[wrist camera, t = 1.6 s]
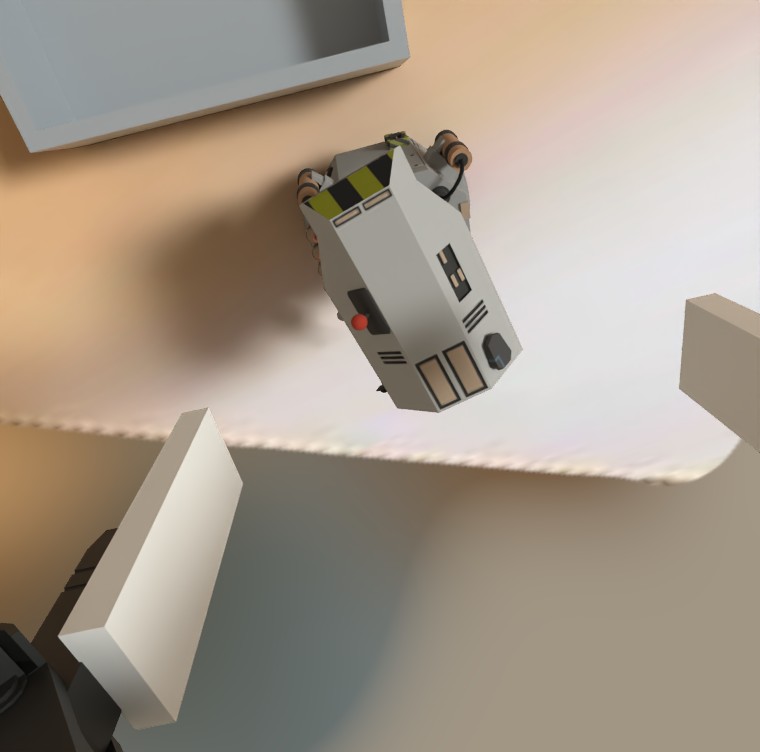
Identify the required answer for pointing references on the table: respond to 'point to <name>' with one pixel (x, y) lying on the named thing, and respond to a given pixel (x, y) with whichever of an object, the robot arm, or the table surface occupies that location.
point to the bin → (177, 59)
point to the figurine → (409, 269)
